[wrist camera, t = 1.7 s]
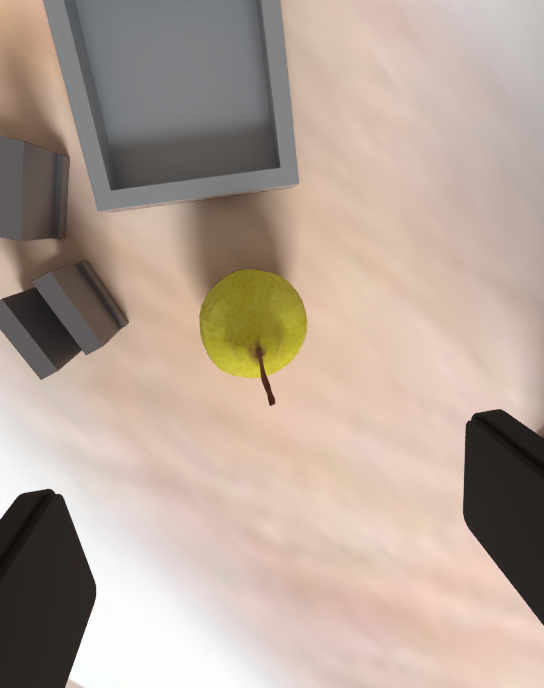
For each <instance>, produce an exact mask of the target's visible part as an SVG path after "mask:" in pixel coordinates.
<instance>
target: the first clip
mask: <svg viewBox="0 0 544 688" xmlns="http://www.w3.org/2000/svg"><path fill="white" fill-rule="evenodd" d="M32 283H33V284H34V286H35V288H32V289H29V290H26V291H23V292H21V293H18V294H15V295H12V296H9V297H6V298H3V299H1V300H0V330H1V331H2V332H3V333H4V335H5V336H6V337H7V338H8V340H9V341H10V342H11V343H12V345H13V346H14V347H15V348H16V350H17V351H18V352H19V353H20V354H21V356H22V357H23V358H24V359H25V361H26V362H27V363H28V364H29V366H30V367H31V368H32V369H33V371H34V372H35V373H36V374H37V376H38V377H39V378H40V379H41V380H42V379H44V378H46V377H48V376H49V375H51V374H53V373H55V372H57V371H58V370H59V369H61V368H62V367H63V366H64V365H65V364H66V363H68V362H69V361H70V360H71V359H72V358H73V357H75V356H76V355H77V354H78V353H79V352H80V351H82V350H83V352H84V353H85V354H86V355H88V354H90V353H91V352H93V351H95V350H97V349H99V348H101V347H102V346H104V345H105V344H106V343H107V342H108V341H109V340H110V339H111V338H112V337H113V336H114V335H115V334H116V333H117V332H118V331H119V330H120V329H121V328H123V327H125V326H126V325H127V324H128V323H129V322H128V320H127V319H126V318H125V316H124V315H123V313H122V312H121V310H120V309H119V307H118V306H117V304H116V303H115V301H114V300H113V298H112V297H111V295H110V294H109V293H108V291H107V290H106V288H105V287H104V285H103V284H102V282H101V281H100V279H99V278H98V276H97V275H96V273H95V272H94V270H93V269H92V268H91V266H90V265H89V263H88V262H87V260H86V261H82V262H80V263H78V264H75V265H72V266H68V267H65V268H61V269H58V270H54V271H50V272H48V273H47V274H45V275H43V276H41V277H39V278H38V279H36V280H34V281H32Z"/></svg>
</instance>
